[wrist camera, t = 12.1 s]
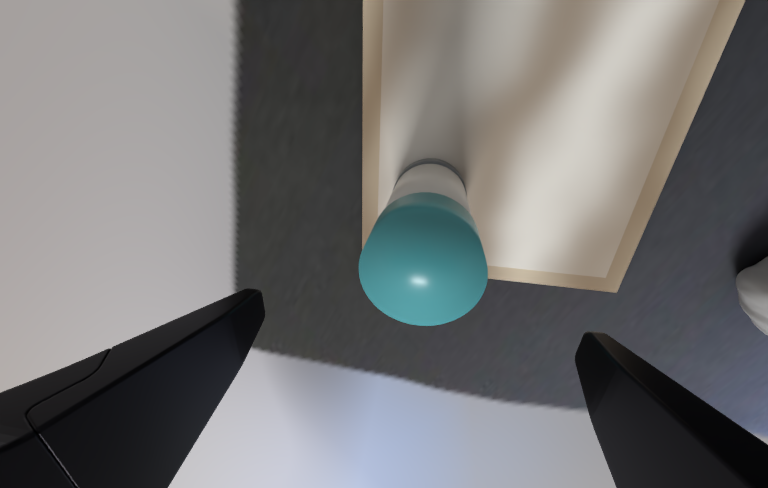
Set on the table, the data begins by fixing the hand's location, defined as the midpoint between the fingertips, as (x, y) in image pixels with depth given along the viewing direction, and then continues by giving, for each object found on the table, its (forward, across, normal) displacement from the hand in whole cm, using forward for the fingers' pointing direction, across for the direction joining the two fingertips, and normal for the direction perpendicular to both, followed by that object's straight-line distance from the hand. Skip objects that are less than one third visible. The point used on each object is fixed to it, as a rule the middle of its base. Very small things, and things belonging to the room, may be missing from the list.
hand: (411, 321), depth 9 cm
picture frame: (+12, -4, -5) cm, 13 cm away
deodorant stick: (+11, 0, 0) cm, 11 cm away
